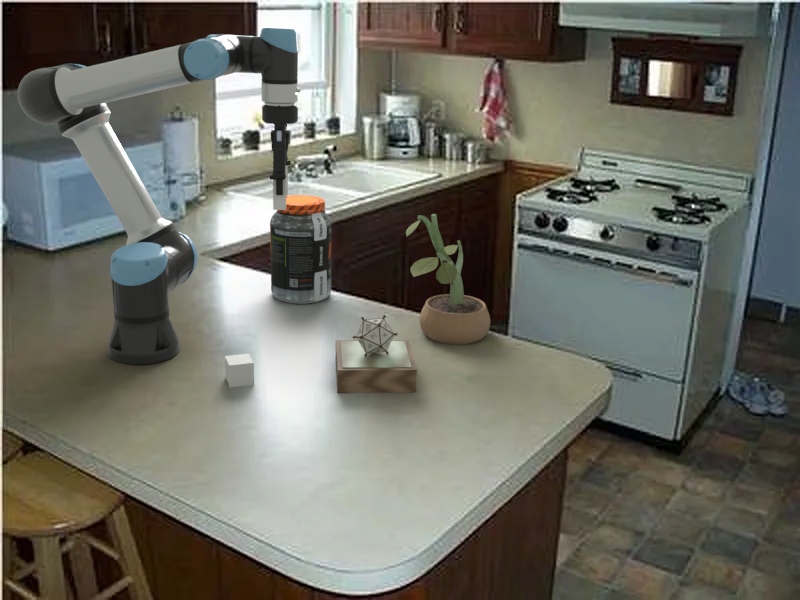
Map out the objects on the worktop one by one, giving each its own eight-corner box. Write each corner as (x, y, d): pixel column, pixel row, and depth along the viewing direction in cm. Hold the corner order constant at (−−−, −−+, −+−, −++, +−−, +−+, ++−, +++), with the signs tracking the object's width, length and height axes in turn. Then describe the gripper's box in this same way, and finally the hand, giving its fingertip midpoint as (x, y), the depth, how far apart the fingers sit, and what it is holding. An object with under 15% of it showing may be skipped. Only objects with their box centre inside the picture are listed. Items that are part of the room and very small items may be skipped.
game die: (380, 372, 190) (390, 348, 182) (343, 355, 190) (352, 330, 182) (396, 341, 195) (406, 315, 187) (360, 324, 195) (369, 298, 187)
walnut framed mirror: (337, 392, 183) (337, 369, 181) (335, 361, 198) (335, 339, 196) (415, 392, 185) (416, 368, 183) (408, 361, 200) (408, 339, 198)
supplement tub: (342, 299, 237) (343, 203, 228) (288, 309, 228) (287, 209, 220) (312, 283, 249) (312, 190, 240) (260, 291, 240) (259, 196, 232)
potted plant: (462, 316, 228) (469, 199, 218) (503, 340, 213) (513, 216, 204) (383, 329, 218) (387, 207, 208) (421, 355, 203) (427, 226, 193)
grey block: (229, 388, 184) (229, 365, 182) (225, 378, 188) (224, 356, 186) (254, 385, 185) (253, 362, 184) (249, 375, 190) (248, 353, 188)
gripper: (296, 111, 179) (297, 216, 186) (298, 96, 202) (298, 189, 209) (258, 111, 178) (260, 215, 185) (264, 95, 202) (266, 189, 209)
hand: (280, 202), depth 197 cm, fingers open, 13 cm apart
